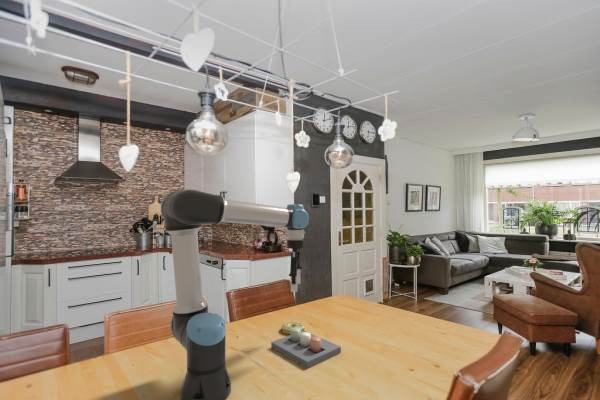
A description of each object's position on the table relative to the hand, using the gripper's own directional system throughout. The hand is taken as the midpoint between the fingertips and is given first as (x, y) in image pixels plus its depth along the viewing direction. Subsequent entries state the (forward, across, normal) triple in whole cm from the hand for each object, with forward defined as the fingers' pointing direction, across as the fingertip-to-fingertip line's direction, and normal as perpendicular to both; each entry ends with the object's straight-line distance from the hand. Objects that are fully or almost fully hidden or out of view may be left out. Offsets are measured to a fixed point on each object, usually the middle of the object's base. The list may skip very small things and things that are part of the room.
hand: (295, 287), depth 136 cm
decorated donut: (+24, +9, +2) cm, 25 cm away
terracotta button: (+20, -14, -9) cm, 26 cm away
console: (+23, -10, -5) cm, 26 cm away
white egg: (+20, -10, -5) cm, 23 cm away
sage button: (+20, -6, -1) cm, 21 cm away
